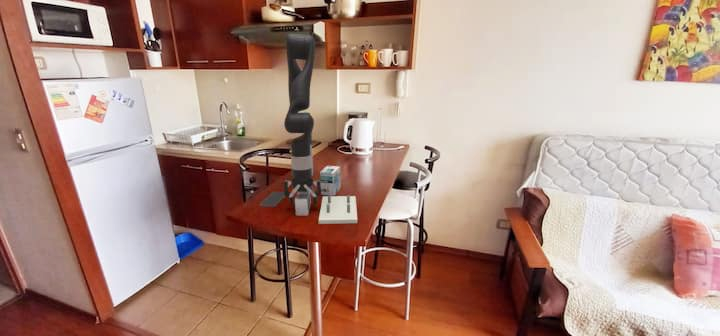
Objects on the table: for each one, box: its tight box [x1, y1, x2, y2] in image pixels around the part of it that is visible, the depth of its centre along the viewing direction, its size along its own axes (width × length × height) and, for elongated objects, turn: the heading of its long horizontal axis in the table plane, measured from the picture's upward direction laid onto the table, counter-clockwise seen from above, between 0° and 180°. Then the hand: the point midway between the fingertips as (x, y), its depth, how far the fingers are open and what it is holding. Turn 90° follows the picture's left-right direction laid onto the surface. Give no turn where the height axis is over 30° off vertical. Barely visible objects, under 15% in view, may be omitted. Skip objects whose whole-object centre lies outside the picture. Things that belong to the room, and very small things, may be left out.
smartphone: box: [258, 191, 287, 208], centre depth 131 cm, size 7×1×15 cm
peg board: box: [318, 194, 358, 225], centre depth 120 cm, size 22×14×4 cm, turn 3°
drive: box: [294, 191, 312, 217], centre depth 121 cm, size 12×5×7 cm, turn 3°
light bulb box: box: [319, 165, 342, 196], centre depth 139 cm, size 11×7×11 cm, turn 168°
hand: (303, 205), depth 121 cm, fingers open, 8 cm apart
